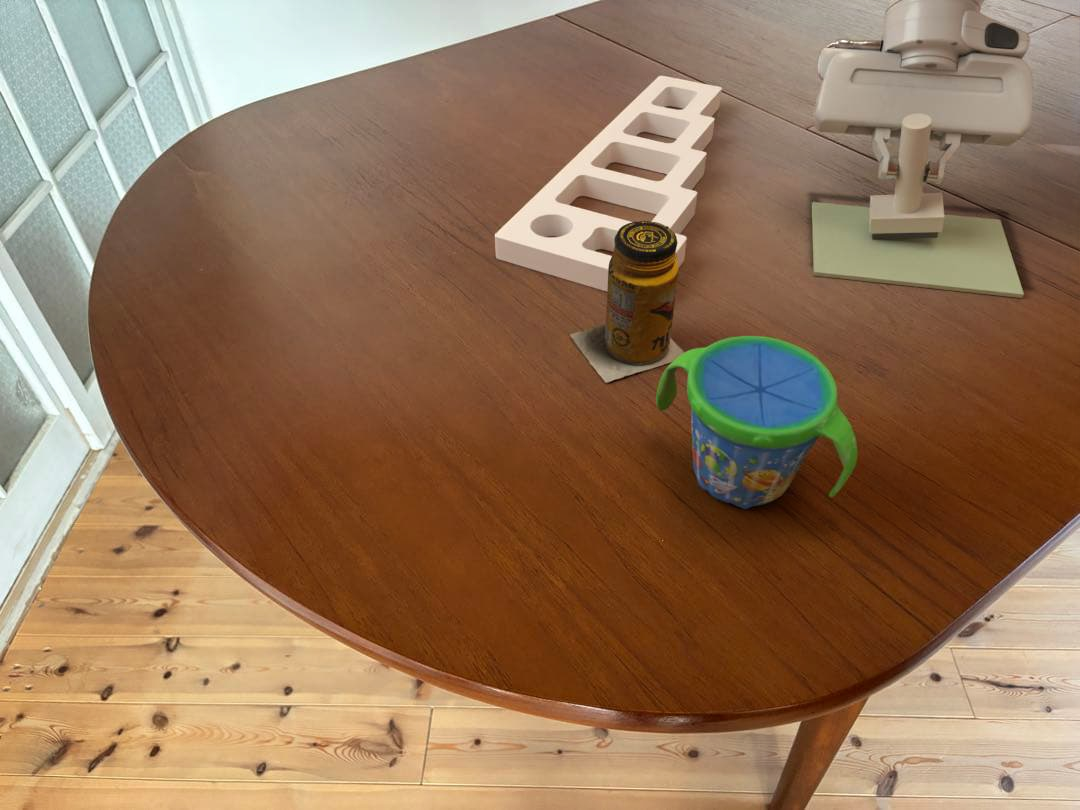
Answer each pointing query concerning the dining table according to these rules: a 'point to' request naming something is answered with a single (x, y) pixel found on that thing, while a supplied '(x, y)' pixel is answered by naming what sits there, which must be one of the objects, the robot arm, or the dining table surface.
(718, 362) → the snack cup
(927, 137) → the brush
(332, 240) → the dining table surface
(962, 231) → the mat
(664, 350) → the condiment
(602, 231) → the holder
